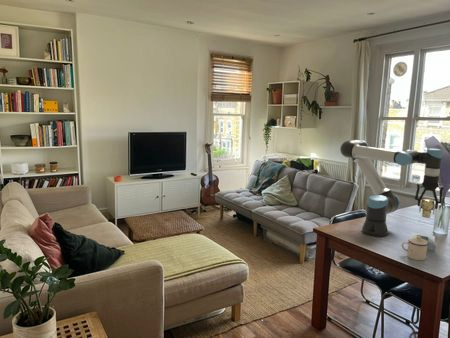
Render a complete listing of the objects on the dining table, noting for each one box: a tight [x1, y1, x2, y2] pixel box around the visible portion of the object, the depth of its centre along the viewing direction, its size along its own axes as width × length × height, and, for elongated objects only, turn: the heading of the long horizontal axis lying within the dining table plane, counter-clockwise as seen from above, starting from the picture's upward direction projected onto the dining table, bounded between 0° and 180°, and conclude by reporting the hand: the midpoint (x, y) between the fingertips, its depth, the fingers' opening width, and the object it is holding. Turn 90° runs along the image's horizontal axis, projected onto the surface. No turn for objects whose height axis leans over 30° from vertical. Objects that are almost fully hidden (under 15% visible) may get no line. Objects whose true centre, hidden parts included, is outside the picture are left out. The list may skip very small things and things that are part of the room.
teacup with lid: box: [401, 236, 428, 261], centre depth 178 cm, size 12×9×12 cm
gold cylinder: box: [421, 198, 435, 219], centre depth 200 cm, size 6×6×10 cm
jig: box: [409, 232, 436, 252], centre depth 194 cm, size 12×12×4 cm
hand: (426, 212), depth 200 cm, fingers closed on gold cylinder, 6 cm apart
